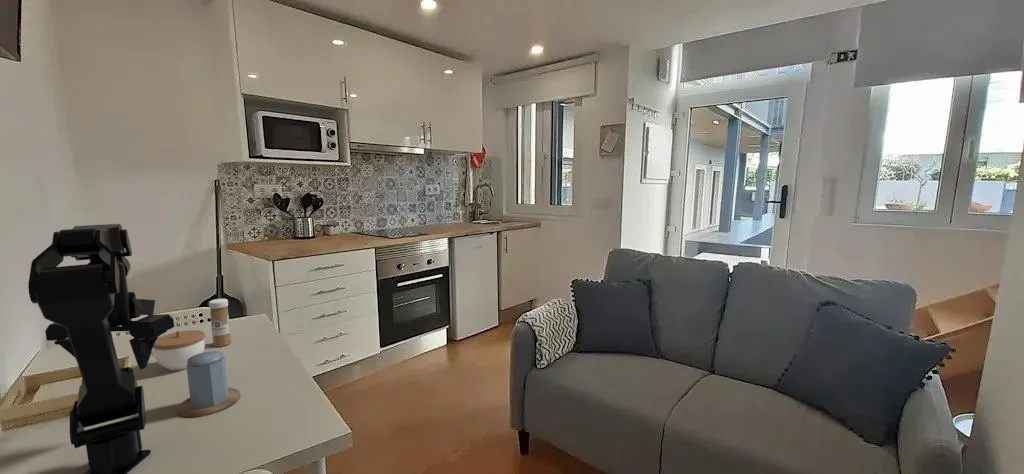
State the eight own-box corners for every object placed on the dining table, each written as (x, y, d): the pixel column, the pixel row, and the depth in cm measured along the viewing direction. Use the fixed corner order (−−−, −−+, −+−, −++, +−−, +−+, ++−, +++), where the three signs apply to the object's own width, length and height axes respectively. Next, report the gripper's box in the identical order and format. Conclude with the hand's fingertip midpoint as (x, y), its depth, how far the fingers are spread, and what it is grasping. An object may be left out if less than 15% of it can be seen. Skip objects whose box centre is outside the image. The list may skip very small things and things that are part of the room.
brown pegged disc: (221, 415, 86) (219, 399, 86) (164, 418, 85) (162, 401, 85) (250, 389, 97) (248, 374, 96) (200, 391, 96) (198, 376, 96)
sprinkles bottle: (212, 348, 120) (207, 303, 118) (214, 343, 124) (209, 299, 122) (231, 345, 122) (226, 301, 121) (232, 340, 126) (228, 297, 125)
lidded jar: (179, 377, 103) (174, 340, 102) (144, 373, 105) (139, 337, 104) (217, 358, 114) (214, 325, 112) (185, 355, 116) (181, 322, 114)
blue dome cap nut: (224, 404, 90) (219, 359, 88) (188, 410, 87) (183, 365, 86) (229, 390, 95) (225, 349, 94) (196, 396, 93) (191, 354, 91)
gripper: (188, 279, 87) (196, 350, 89) (92, 281, 86) (103, 353, 88) (147, 294, 76) (157, 375, 78) (36, 296, 75) (49, 378, 77)
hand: (118, 369), depth 81 cm, fingers open, 9 cm apart
